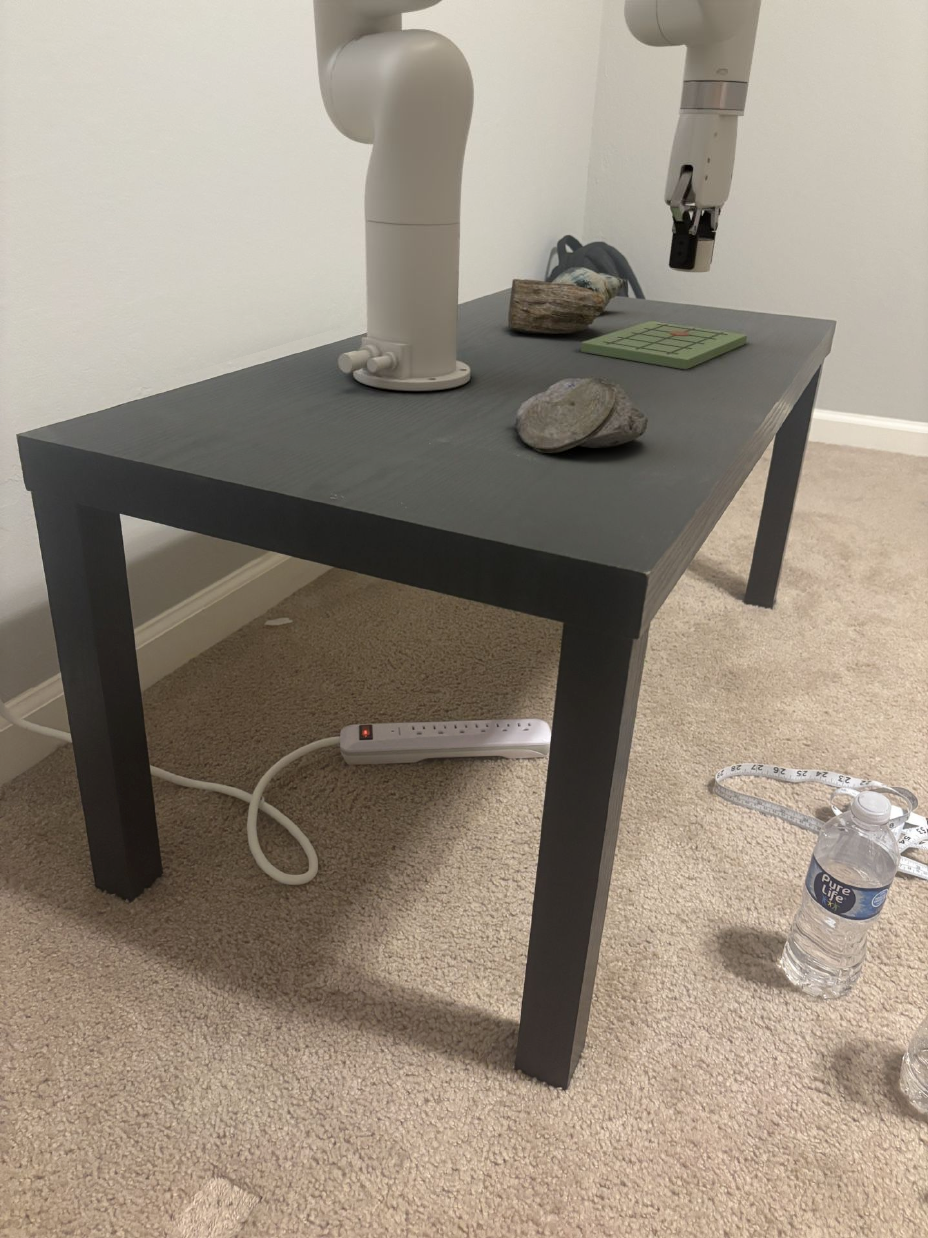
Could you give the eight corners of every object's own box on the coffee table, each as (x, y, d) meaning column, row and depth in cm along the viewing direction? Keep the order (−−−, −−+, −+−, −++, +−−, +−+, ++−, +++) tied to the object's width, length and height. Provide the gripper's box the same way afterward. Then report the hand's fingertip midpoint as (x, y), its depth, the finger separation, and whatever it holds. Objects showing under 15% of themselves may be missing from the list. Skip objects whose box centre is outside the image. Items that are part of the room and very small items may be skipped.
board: (686, 369, 105) (687, 358, 105) (580, 351, 112) (581, 341, 112) (745, 343, 120) (747, 334, 119) (649, 329, 127) (650, 319, 126)
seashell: (546, 316, 142) (620, 323, 138) (532, 301, 135) (610, 308, 131) (553, 275, 141) (628, 280, 137) (540, 258, 134) (619, 263, 130)
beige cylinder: (700, 273, 112) (705, 242, 110) (664, 269, 114) (668, 238, 112) (715, 269, 115) (719, 239, 114) (680, 265, 118) (684, 235, 116)
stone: (608, 299, 127) (606, 248, 118) (605, 361, 124) (603, 313, 114) (513, 302, 130) (504, 253, 120) (508, 363, 126) (498, 317, 117)
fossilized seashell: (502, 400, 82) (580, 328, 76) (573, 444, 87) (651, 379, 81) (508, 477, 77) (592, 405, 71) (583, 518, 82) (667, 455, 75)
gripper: (709, 103, 114) (688, 257, 123) (652, 97, 102) (633, 269, 110) (768, 104, 110) (742, 263, 119) (716, 98, 98) (691, 276, 107)
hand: (690, 264), depth 114 cm, fingers closed on beige cylinder, 4 cm apart
